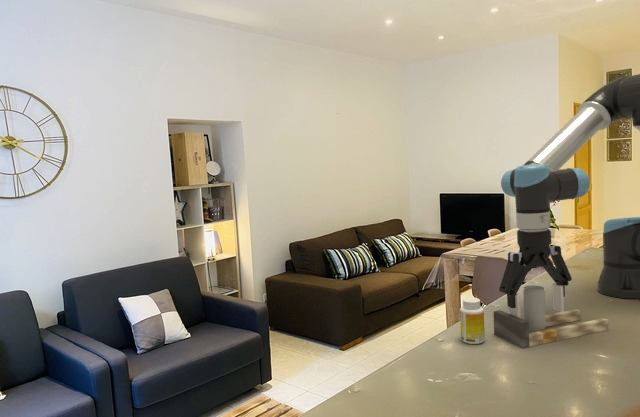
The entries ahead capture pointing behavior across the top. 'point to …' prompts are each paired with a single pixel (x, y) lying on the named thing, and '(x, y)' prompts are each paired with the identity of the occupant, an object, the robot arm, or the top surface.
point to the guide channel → (519, 328)
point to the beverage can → (534, 307)
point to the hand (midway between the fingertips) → (537, 315)
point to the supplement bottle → (472, 321)
